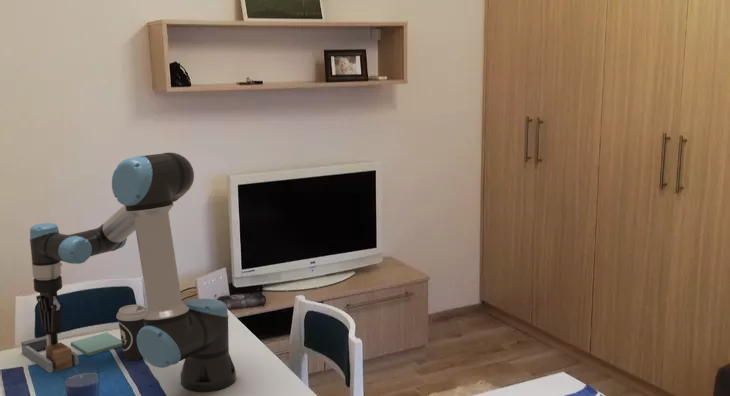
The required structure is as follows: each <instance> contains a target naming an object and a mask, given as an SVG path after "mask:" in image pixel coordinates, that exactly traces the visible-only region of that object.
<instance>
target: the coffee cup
mask: <svg viewBox="0 0 730 396" xmlns="http://www.w3.org/2000/svg"><path fill="white" fill-rule="evenodd" d="M147 310H148V307H147V306H145V305H144V304H128V305H124V306H121V307H120V308H119V309H118V312H117V313H116V316H115V317H116V319H117V322H118V327H119V334H120V340H121V341H122V346H121V347H122V353H123V358H124V359H125V360H126V359H127V361H138V360H137V359H139V360H142V359H144V358H143V356H142V355H141V353H140V351H139V349H138V346H137V335H138V334H139V333H138V332H139V331H140V330H141V328H143V327H144V320H143V315H144V314H145V313H146V311H147Z"/></svg>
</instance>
